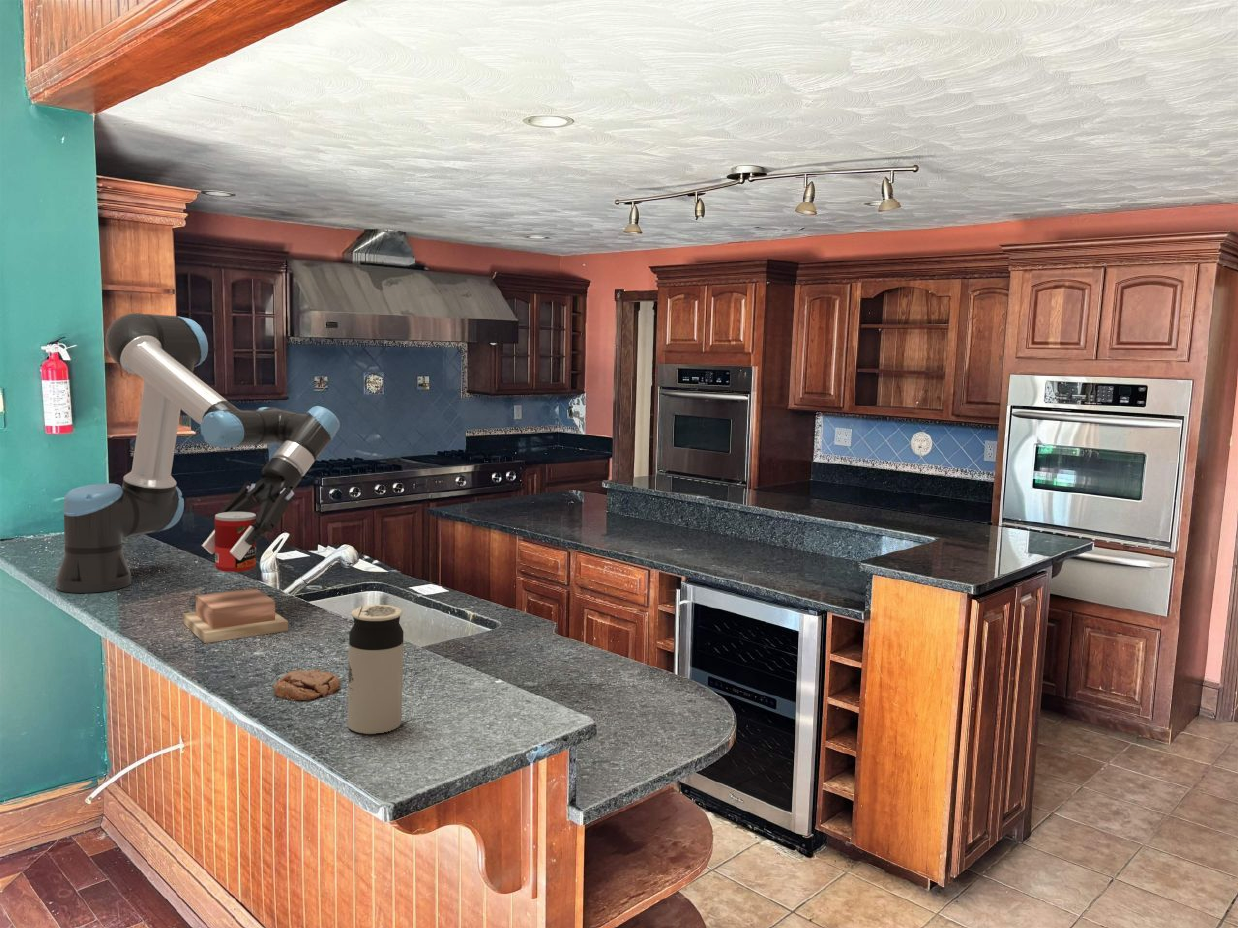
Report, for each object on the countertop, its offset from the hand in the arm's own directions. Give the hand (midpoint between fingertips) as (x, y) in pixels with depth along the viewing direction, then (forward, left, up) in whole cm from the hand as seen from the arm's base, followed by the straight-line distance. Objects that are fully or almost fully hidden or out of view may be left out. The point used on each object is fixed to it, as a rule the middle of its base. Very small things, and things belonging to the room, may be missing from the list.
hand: (221, 552), depth 178 cm
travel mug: (+61, +5, -16) cm, 63 cm away
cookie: (+41, +2, -17) cm, 44 cm away
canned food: (-1, +3, -4) cm, 5 cm away
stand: (-1, +3, -16) cm, 16 cm away
